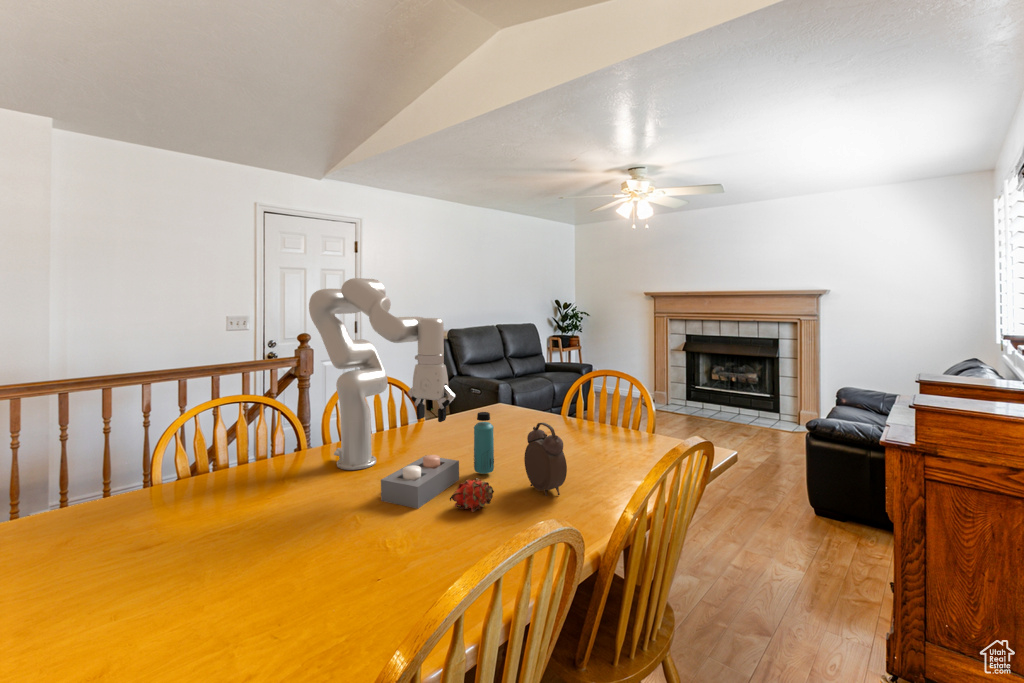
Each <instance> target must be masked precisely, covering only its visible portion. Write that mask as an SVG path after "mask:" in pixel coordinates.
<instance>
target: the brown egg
mask: <svg viewBox="0 0 1024 683" xmlns="http://www.w3.org/2000/svg"><path fill="white" fill-rule="evenodd" d="M424 456H425V457H424ZM424 456H422V457H423V467H427V468H432V469H435V468H437V467H439V466H440V458H441V456H440V455H438V454H428V455H427V456H426V455H424Z"/></svg>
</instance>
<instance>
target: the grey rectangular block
mask: <svg viewBox="0 0 1024 683" xmlns="http://www.w3.org/2000/svg"><path fill="white" fill-rule="evenodd" d="M425 456H427V455H424V456H422V457H420V458H418V459H417V460H415V461H413V462H411V463H409V464H407V465H405V466H404V467H407V466H413V465H415V466H420V467H421V478H419V479H417V480H416V481H412V480H407V479H403V468H404V467H401V468H399V469H398V470H395V471H394V472H393V473H390V474H389V475H387V476H385V477H382V478H381V479H380V501H381V502H385V503H390V504H394V505H398V506H402V507H403V506H405V507H408V508H412V509H416V510H417V509H418V510H419V509H420V508H421V507H422V506H424V505H425V504H427V503H428V502H430V501H431V500H432V499H435V497H437V496H438V495H440V494H441V493H442V492H444V491H445V490H446V489H448V488H450V487H451V486H453V485H454V484H455V483H456V482H458V481H459V480H460V460H459V459H458V460H456V459H451V458H450V459H449V458H444V457H440V466H439V467H437V468H435V469H432V468H427V467H423V457H425Z"/></svg>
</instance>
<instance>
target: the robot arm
mask: <svg viewBox="0 0 1024 683" xmlns="http://www.w3.org/2000/svg"><path fill="white" fill-rule="evenodd" d="M386 293H387V292H386V287H385V286H384V285H383V283H382V282H381V281H379V279H378V280H377V279H374V278H365V277H364V278H361V277H352V278H349V279H347V280H345V281H344V282H343V283H342V285H341V288H321V289H319V290H316V291H314V292H313V293H312V294H311V296H310V298H309V303H308V312H309V315H310V318H311V320H312V323H313V324H314V326H315V328H316V330H317V332H319V334H320V337H321V339H322V342H323V344H324V347H325V350H326V353H327V355H328V357H329V359H330V362H331V364H332V365H333V367H334V368H336V369H338V370H347V369H353V370H348V371H345V372H344V373H342V374H341V375H339V377H338V378H337V379H336V384H335V385H336V391H337V396H338V401H339V412H340V413H339V414H340V440H341V442H340V443H341V447H336V450H335V451H334V452H333V456H337V457H339V458H338V460H337V461H336V467H337V468H338V469H340V470H345V471H357V470H363V469H367V468H370V467H372V466H374V465H376V463H377V457H376V456H374V455H372V421H371V420H372V416H371V415H372V414H371V407H370V405H369V404H368V402H367V400H366V398H367V397H372V396H375V395H380V394H382V393H384V391H386V389H387V387H388V382H389V381H388V375H387V373H386V370H385V368H384V365H383V363H382V360H381V358H380V355H379V353H378V351H377V349H376V347H375V345H374V344H373V343H372V342H371V341H369V340H366V339H353V338H352V337H351V335H350V333H349V332H348V328H347V327H346V325H345V324H344V322H342V320H340V319H339V318H338V317H337V316H336V315H341V314H342V315H344V314H345V315H346V314H349V315H350V314H351V315H352V314H358V313H361V312H362V313H363V314H364V315H366V316H367V317H368V320H369V323H370V326H371V327H372V330H373V331H374V333H376V334H378V335H379V336H381V337H382V338H384V339H385V340H386V341H388V342H391V343H393V344H403V343H412V342H417V355H415V356H414V360H415V361H417V364H414V370H413V376H412V386H411V388H410V389H409V390H408V391H407V395H408V396H409V397H410V399H411V400H412V402H413V403H414V406H415V407H416V419H417V420H421V419H424V418H425V417H426V412H425V411H426V410H425V409H426V406H425V404H424V402H425V400H427V401H428V400H429V401H430V400H431V401H436V402H437V404H438V409H437V422H439V423H442V422H444V421H446V419H447V407H448V406H449V405H450V404H451V403H452V401H454V399H455V398H456V394H455V393H454V392H453V391H452V390H451V389H450V388H449V376H448V370H447V366H446V364H444V363H445V361H444V360H445V359H444V356H445V354H444V353H445V351H444V347H445V346H444V339H445V338H444V336H445V335H444V334H445V333H444V328H445V327H444V321H443V320H442V319H441V318H438V317H423V316H399V317H397V316H394V315H393V314H391V313H390V309H391V305H392V304H391V299H390V297H389V296H387V295H386Z"/></svg>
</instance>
